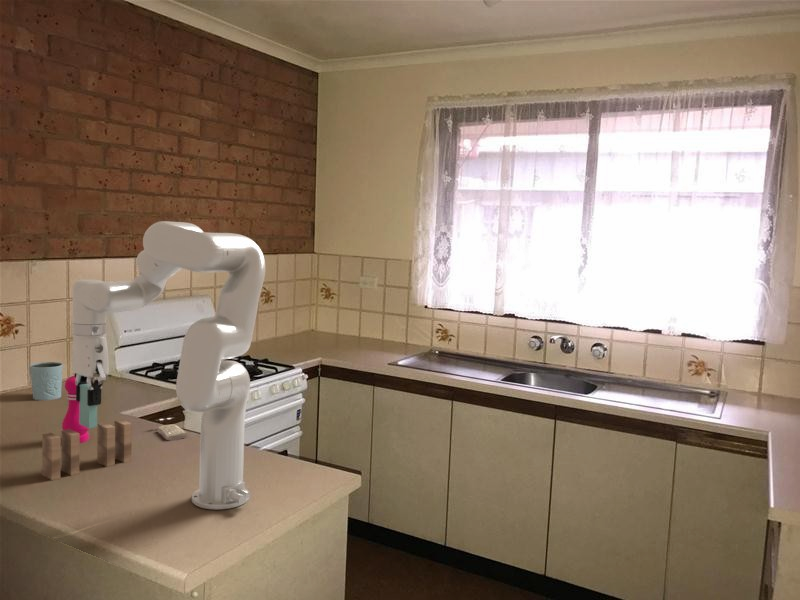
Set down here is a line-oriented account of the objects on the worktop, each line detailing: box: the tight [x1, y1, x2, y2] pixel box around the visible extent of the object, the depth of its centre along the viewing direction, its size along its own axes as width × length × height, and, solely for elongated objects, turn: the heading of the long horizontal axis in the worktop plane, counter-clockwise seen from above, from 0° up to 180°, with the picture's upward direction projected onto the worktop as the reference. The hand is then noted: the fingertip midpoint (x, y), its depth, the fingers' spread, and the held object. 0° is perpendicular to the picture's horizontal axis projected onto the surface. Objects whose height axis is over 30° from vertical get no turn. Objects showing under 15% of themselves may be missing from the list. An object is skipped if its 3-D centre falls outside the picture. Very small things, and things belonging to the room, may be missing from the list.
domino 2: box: [61, 429, 81, 477], centre depth 163 cm, size 5×2×10 cm, turn 51°
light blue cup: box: [29, 361, 64, 401], centre depth 230 cm, size 10×10×12 cm
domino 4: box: [96, 422, 116, 468], centre depth 170 cm, size 5×2×10 cm, turn 51°
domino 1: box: [41, 432, 62, 481], centre depth 160 cm, size 5×2×10 cm, turn 51°
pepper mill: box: [61, 372, 90, 444], centre depth 187 cm, size 7×7×20 cm
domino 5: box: [113, 419, 133, 463], centre depth 174 cm, size 5×2×10 cm, turn 51°
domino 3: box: [79, 384, 98, 429], centre depth 166 cm, size 5×2×10 cm, turn 51°
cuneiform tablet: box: [154, 416, 188, 442], centre depth 196 cm, size 6×4×12 cm
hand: (88, 402), depth 166 cm, fingers closed on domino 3, 4 cm apart
